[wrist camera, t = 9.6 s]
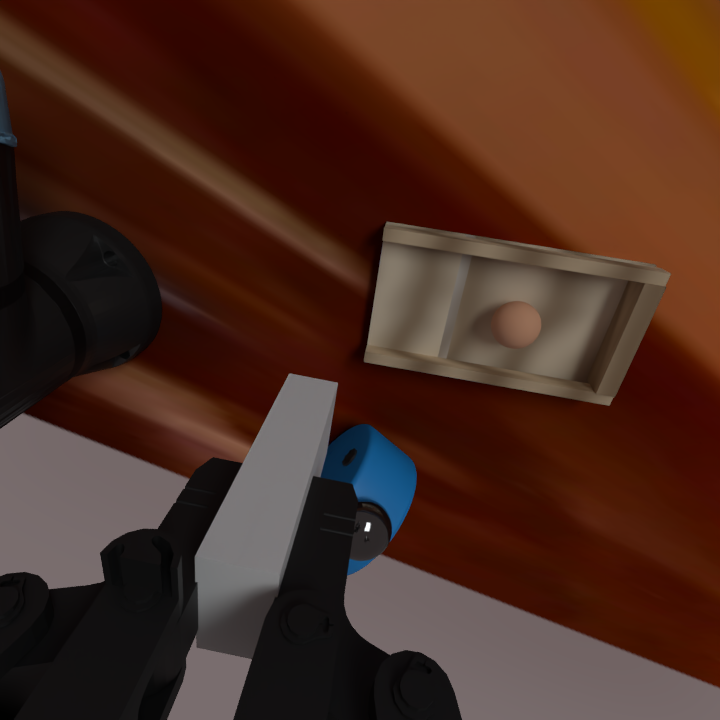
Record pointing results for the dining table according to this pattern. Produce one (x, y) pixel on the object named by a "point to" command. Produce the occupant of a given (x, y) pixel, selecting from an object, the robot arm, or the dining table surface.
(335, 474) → the alarm clock
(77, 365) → the robot arm
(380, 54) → the dining table surface
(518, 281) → the lane
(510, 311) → the ball
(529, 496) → the dining table surface
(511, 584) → the dining table surface
